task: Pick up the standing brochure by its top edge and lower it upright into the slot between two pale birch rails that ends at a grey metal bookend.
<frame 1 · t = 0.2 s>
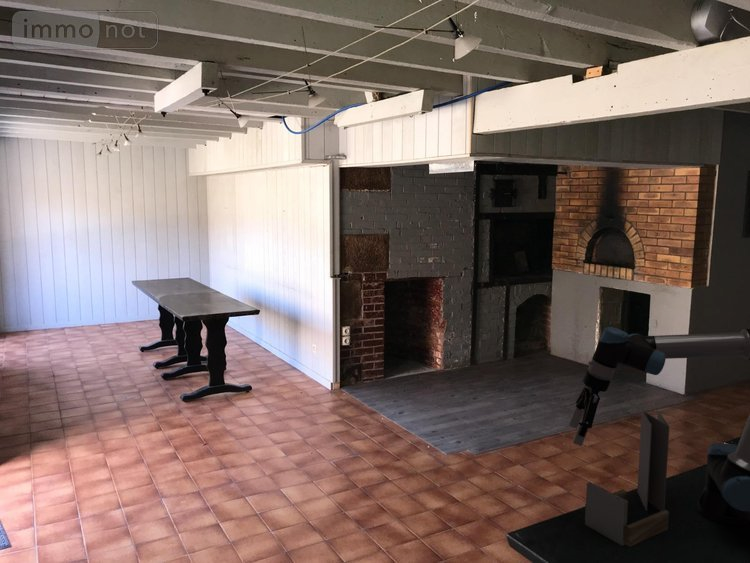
hand: (574, 435, 198), 28 cm above the table, tool tilted 20°, fingers open, 13 cm apart
slot rails: (625, 525, 197), on the table
brochure: (650, 503, 211), on the table
bookend: (604, 534, 192), on the table
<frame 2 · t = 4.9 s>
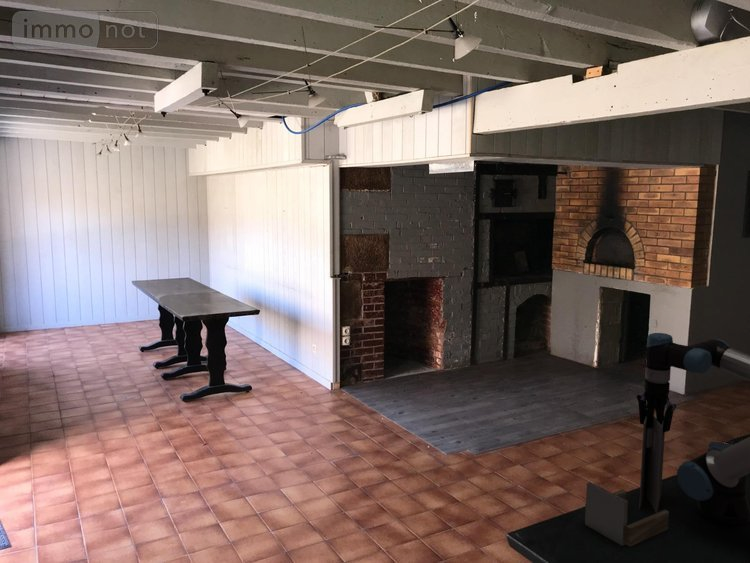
hand: (653, 447, 208), 20 cm above the table, tool pointing down, fingers open, 2 cm apart
brochure: (650, 503, 211), on the table, touching hand
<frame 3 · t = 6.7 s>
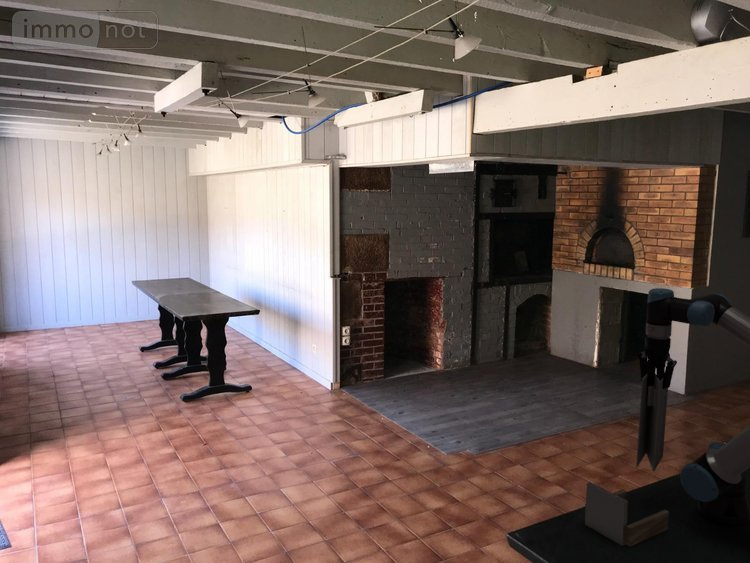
hand: (653, 405, 205), 34 cm above the table, tool pointing down, fingers closed
brochure: (649, 462, 208), point 15 cm above the table, touching hand
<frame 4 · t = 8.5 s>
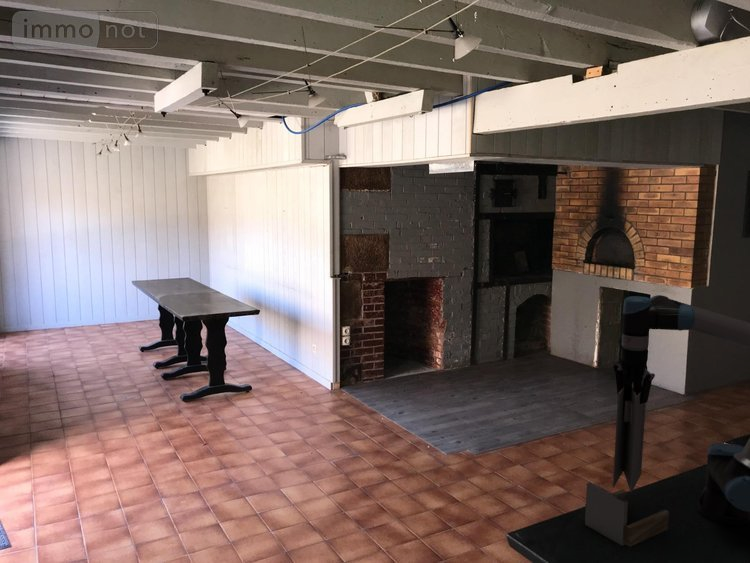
hand: (631, 421, 192), 34 cm above the table, tool pointing down, fingers closed
brochure: (627, 481, 195), point 15 cm above the table, touching hand
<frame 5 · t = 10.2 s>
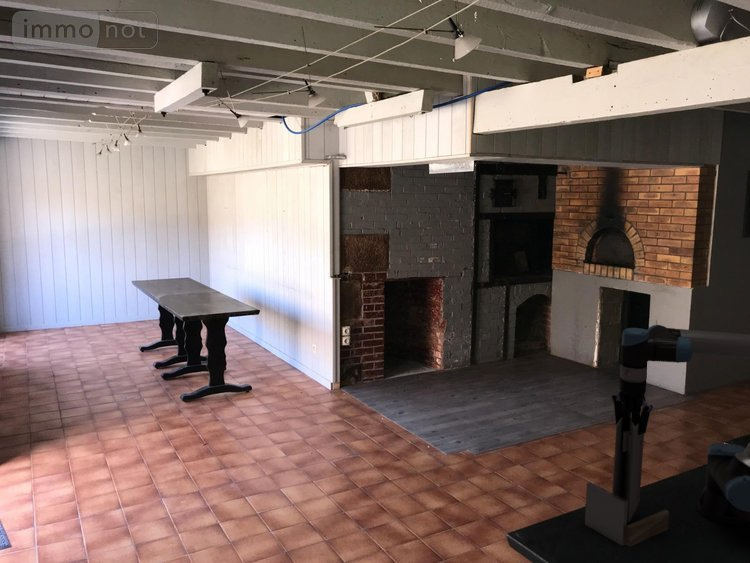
hand: (629, 451, 193), 25 cm above the table, tool pointing down, fingers closed
brochure: (625, 510, 196), point 5 cm above the table, touching hand
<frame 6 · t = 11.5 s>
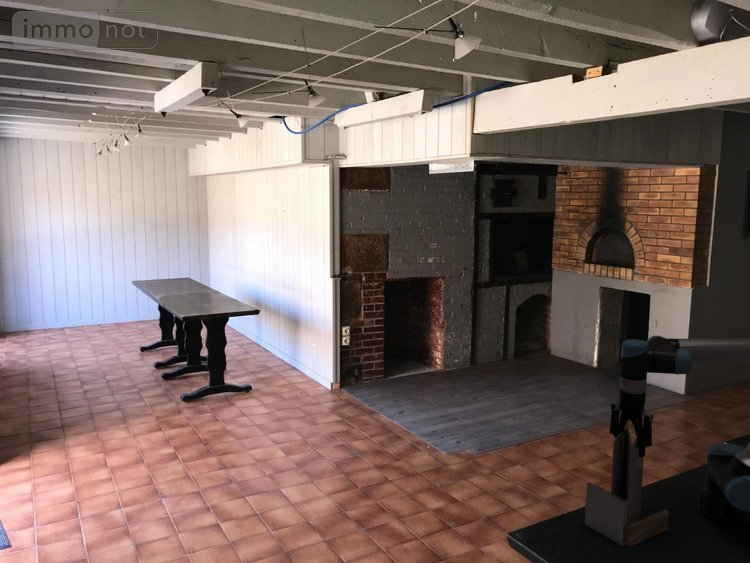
hand: (628, 461, 194), 21 cm above the table, tool pointing down, fingers open, 6 cm apart
brochure: (624, 525, 197), on the table
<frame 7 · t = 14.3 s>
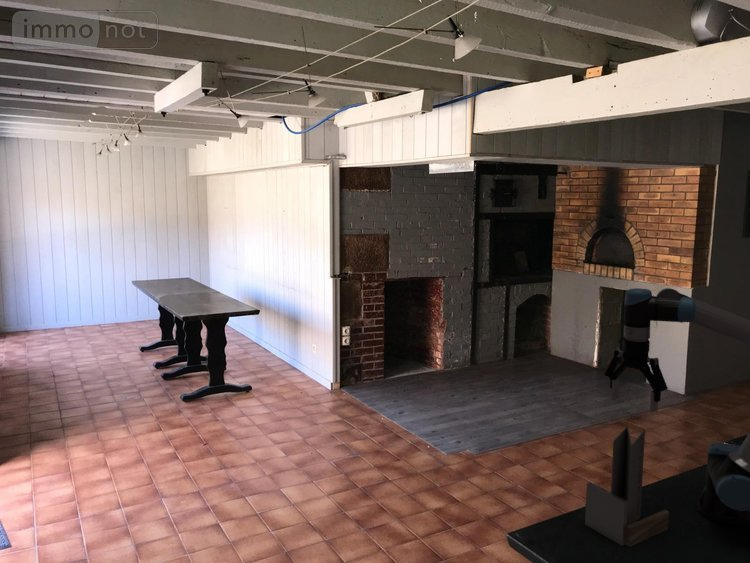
hand: (634, 405, 195), 38 cm above the table, tool pointing down, fingers open, 13 cm apart
nothing on the table moved.
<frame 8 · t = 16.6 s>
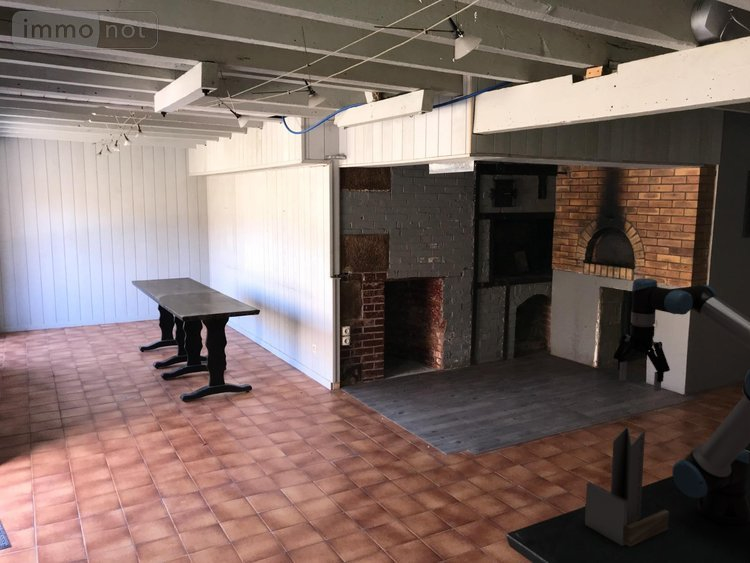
hand: (639, 385, 213), 39 cm above the table, tool pointing down, fingers open, 13 cm apart
nothing on the table moved.
at the end: brochure inside the target area (0.2 cm from its centre), on the table; brochure tilted 0°; the gripper is holding nothing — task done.
